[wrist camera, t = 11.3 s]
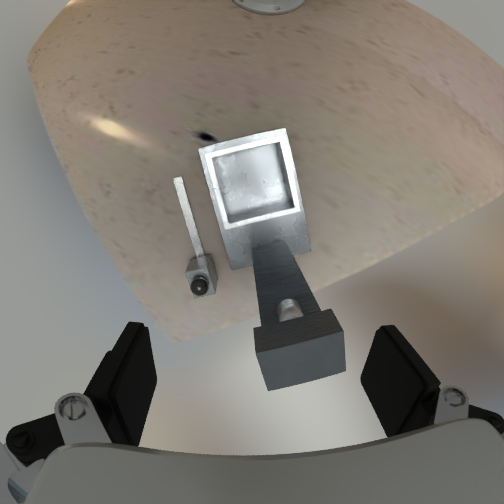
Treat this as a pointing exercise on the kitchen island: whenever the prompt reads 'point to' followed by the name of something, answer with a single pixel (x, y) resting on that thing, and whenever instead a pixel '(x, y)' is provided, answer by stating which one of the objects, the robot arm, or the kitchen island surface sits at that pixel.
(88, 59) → the kitchen island surface
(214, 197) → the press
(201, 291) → the lever
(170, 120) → the kitchen island surface
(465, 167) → the kitchen island surface
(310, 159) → the kitchen island surface
